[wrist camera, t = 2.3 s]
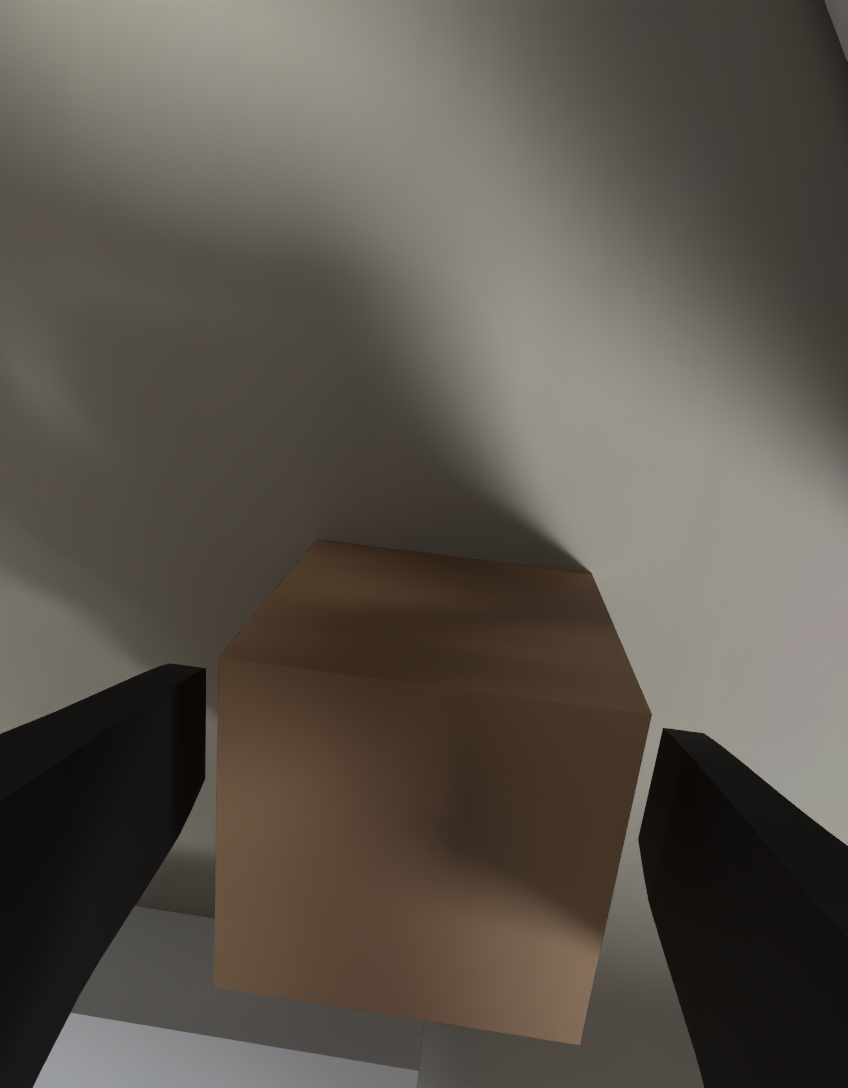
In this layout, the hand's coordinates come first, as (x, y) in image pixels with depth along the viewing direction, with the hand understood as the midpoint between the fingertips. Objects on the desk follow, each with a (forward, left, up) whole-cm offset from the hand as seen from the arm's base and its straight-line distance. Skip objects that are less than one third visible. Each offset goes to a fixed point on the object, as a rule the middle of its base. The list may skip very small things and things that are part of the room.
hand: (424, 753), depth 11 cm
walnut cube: (0, 0, -3) cm, 3 cm away
